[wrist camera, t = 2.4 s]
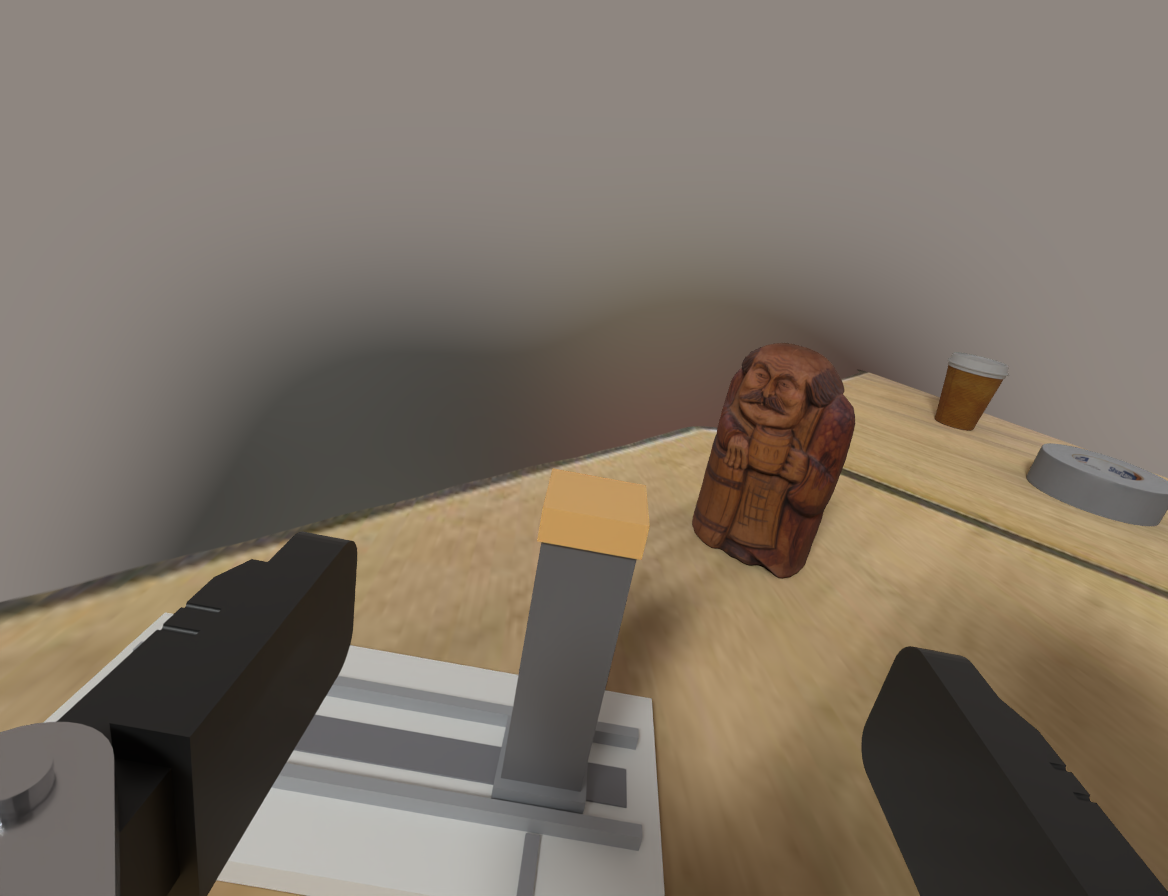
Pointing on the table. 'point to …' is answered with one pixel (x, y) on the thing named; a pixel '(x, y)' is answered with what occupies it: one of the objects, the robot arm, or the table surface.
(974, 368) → the disposable coffee cup
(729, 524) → the wooden figurine
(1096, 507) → the tape roll
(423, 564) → the table surface
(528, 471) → the table surface
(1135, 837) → the table surface
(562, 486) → the fader
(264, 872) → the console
